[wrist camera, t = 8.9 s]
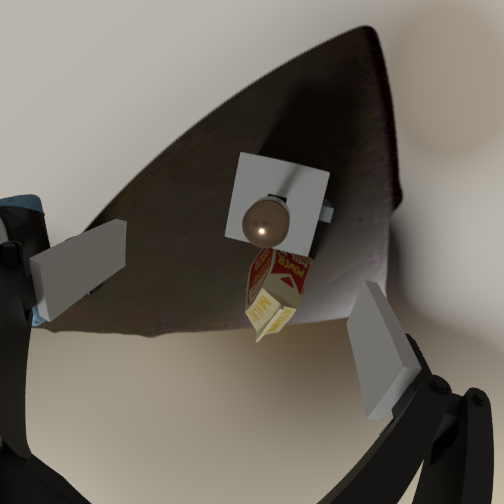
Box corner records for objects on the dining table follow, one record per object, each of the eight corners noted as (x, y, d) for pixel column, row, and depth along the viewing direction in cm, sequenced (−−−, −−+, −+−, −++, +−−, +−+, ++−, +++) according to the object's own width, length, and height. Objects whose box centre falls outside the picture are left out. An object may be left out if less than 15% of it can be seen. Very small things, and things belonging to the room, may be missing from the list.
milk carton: (273, 231, 50) (257, 276, 31) (315, 258, 50) (323, 317, 31) (247, 269, 53) (220, 329, 34) (287, 295, 53) (279, 363, 35)
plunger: (253, 209, 48) (211, 258, 25) (263, 163, 45) (227, 168, 22) (299, 221, 47) (299, 280, 25) (310, 174, 44) (324, 190, 22)
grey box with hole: (245, 214, 50) (224, 236, 36) (257, 154, 46) (240, 152, 32) (316, 231, 48) (322, 260, 35) (331, 171, 45) (345, 177, 31)
